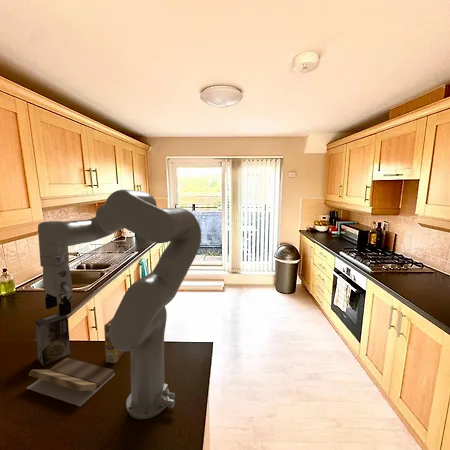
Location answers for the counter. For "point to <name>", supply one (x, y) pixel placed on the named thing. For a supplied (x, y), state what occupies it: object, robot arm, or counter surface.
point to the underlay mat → (63, 392)
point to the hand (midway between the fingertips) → (58, 310)
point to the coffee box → (52, 338)
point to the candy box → (111, 347)
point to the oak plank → (63, 380)
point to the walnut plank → (83, 371)
